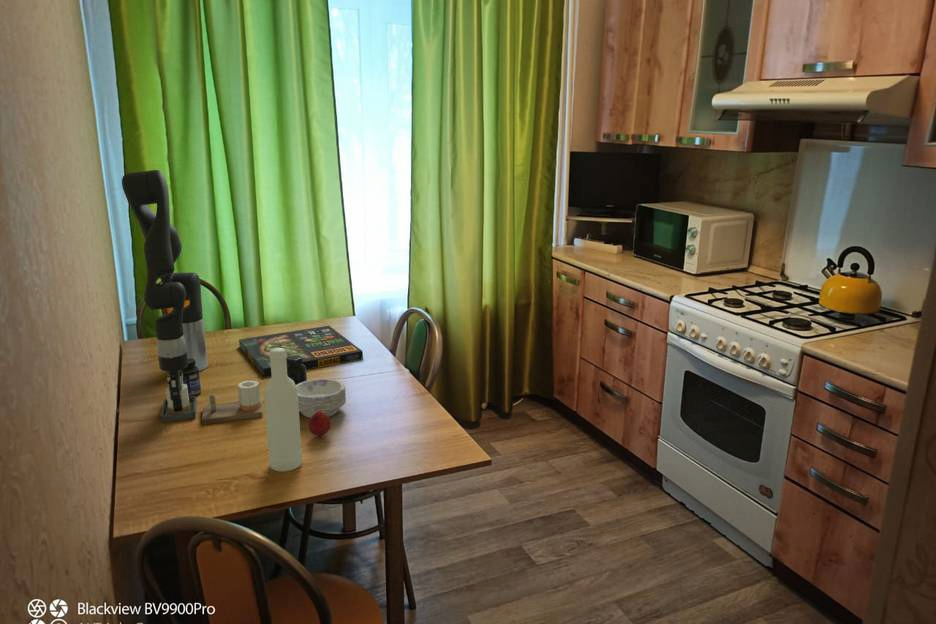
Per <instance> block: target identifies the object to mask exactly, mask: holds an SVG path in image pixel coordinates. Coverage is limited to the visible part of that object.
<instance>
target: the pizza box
mask: <svg viewBox="0 0 936 624" xmlns="http://www.w3.org/2000/svg"><path fill="white" fill-rule="evenodd" d="M238 342H239V348H240V349H241V351H242V352H243V353H244V354H245V355H246V356H247V358H248V359H249V361H251V363H252V364H253V366H254V367H255V368H256V369H257V371H259V373H260V374H261V375H262V377H263V378H267V377H272V375H271V362H270V358H269V356H270V350H272V349H274V348H283V349H285V350H286V354H287V356H286V358H287V357H288V356H292V355H300V356H302V361H303V363H302V364H304V365H305V366H306V371H307V370H311V369H315V368H321V367H327V366H334V365H338V364H344V363H348V362H349V363H350V362H354V361H359V360H364V354H363V353H364V352H363V350H362V349H361V348H360V347H358V346H357V345H355V343H352V341H350V340H348V339H347V338H346V337H345V336H343V335H342V334H341V333H340V332H338V331H337V330H336V329H334V328H333V327H332V326H330V325H325V326H319V327H311V328H306V329H305V328H304V329H298V330H291V331H284V332H278V333H271V334H267V335H259V336H252V337H246V338H239V339H238Z"/></svg>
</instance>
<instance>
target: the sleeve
mask: <svg viewBox="0 0 936 624" xmlns="http://www.w3.org/2000/svg"><path fill="white" fill-rule="evenodd" d="M165 391H166V392H165V394H166V400H167V402H168V410H169V413H173V414H176V413H184V412H186V411H188V410H189V409H190V405H189V396H188V388H187V384H182V391H181V396H182V397H181V402H182V411H177V412H175V411H174V409H173V401H172V400H171V399H170V397H171V396H170V391H169V385H167V386H166V388H165ZM173 395H178V392H173Z"/></svg>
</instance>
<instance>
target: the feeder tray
mask: <svg viewBox="0 0 936 624" xmlns="http://www.w3.org/2000/svg"><path fill="white" fill-rule="evenodd" d="M197 404H198V399H197V396H192V397H189V405H190V409H189V410H188V411H186V412H184V413H176V414H173V413H169V410H168V402H167V399H163V401H162V406H161V411H160V423H163V424H165V423H172V422H179V421H186V420H195V419H196V417H197V409H198V408H197Z"/></svg>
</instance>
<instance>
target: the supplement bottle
mask: <svg viewBox="0 0 936 624" xmlns="http://www.w3.org/2000/svg"><path fill="white" fill-rule="evenodd" d="M302 363H303V361H302V356H300V355H292V356H288V357H287V358H286V364H287V376H288V377H289V378H290V379H292V380H293V381H294V383H295V385H297V384H299V383H301V382H304V381H308V377H307V375H308V373H307V370H306V366H305V365H304V364H302Z"/></svg>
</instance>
